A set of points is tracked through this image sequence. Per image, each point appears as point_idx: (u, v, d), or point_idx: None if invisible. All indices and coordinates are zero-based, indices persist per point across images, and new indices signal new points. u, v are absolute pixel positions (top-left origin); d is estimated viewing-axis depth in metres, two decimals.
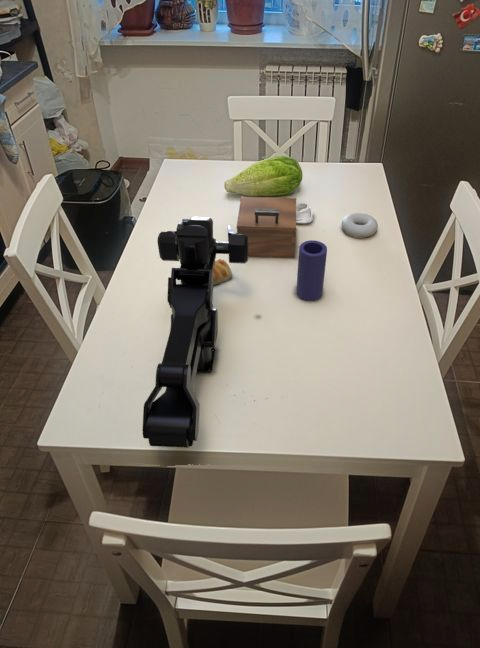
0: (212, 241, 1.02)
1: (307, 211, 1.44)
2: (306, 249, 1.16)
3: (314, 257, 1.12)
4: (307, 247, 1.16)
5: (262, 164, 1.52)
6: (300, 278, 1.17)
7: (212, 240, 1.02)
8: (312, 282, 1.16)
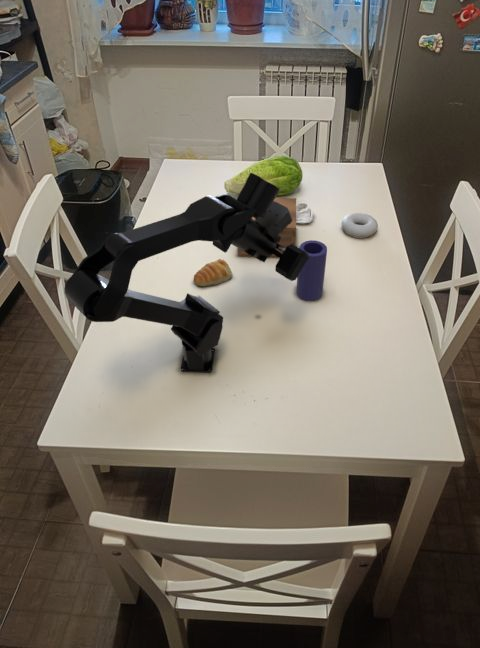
0: (277, 229, 0.98)
1: (307, 211, 1.44)
2: (306, 249, 1.16)
3: (314, 257, 1.12)
4: (307, 247, 1.16)
5: (262, 164, 1.52)
6: (300, 278, 1.17)
7: (277, 228, 0.98)
8: (312, 282, 1.16)
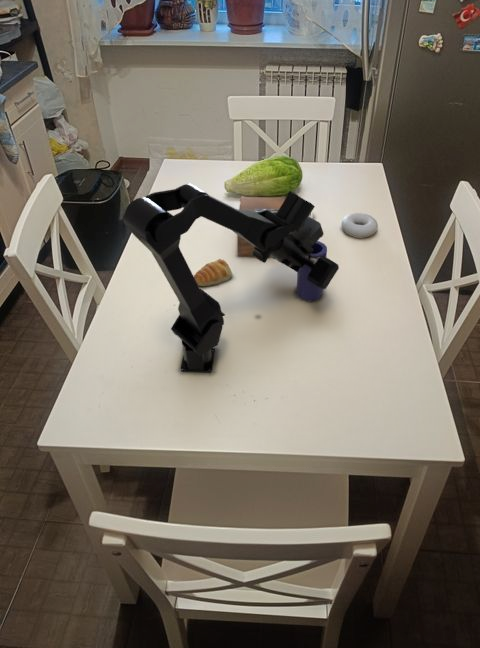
0: (310, 242, 1.07)
1: None
2: None
3: (314, 257, 1.12)
4: None
5: (262, 164, 1.52)
6: (300, 278, 1.17)
7: (310, 241, 1.07)
8: None
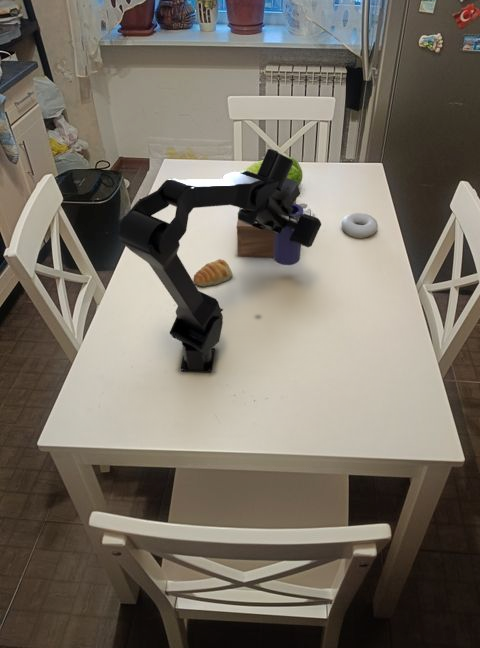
0: (290, 201, 1.06)
1: (307, 211, 1.44)
2: None
3: None
4: None
5: None
6: (279, 242, 1.16)
7: (290, 200, 1.06)
8: (292, 244, 1.16)
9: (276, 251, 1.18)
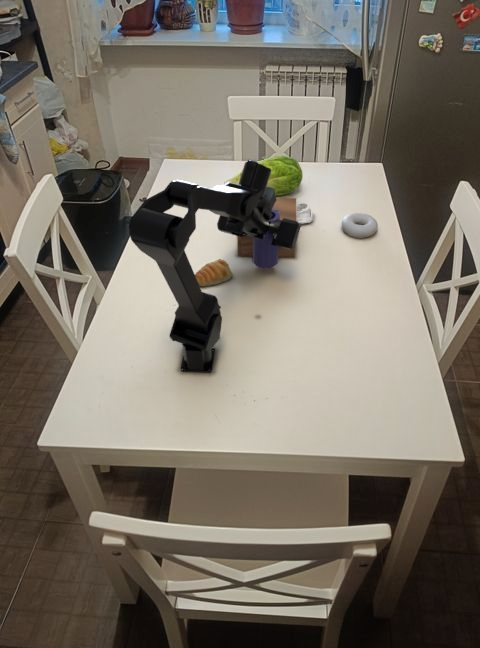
0: (269, 207, 1.11)
1: (307, 211, 1.44)
2: None
3: None
4: None
5: (262, 164, 1.52)
6: (259, 247, 1.21)
7: (269, 207, 1.11)
8: (271, 248, 1.20)
9: (256, 256, 1.23)
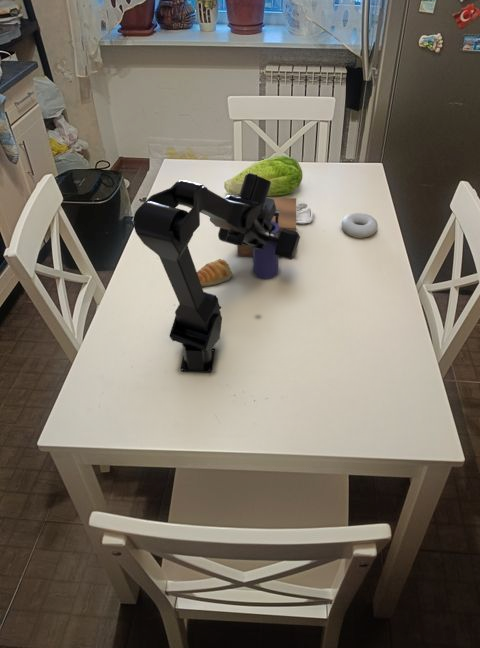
0: (269, 218, 1.13)
1: (307, 211, 1.44)
2: None
3: None
4: None
5: (262, 164, 1.52)
6: (259, 258, 1.23)
7: (269, 217, 1.13)
8: (271, 259, 1.23)
9: (256, 267, 1.25)
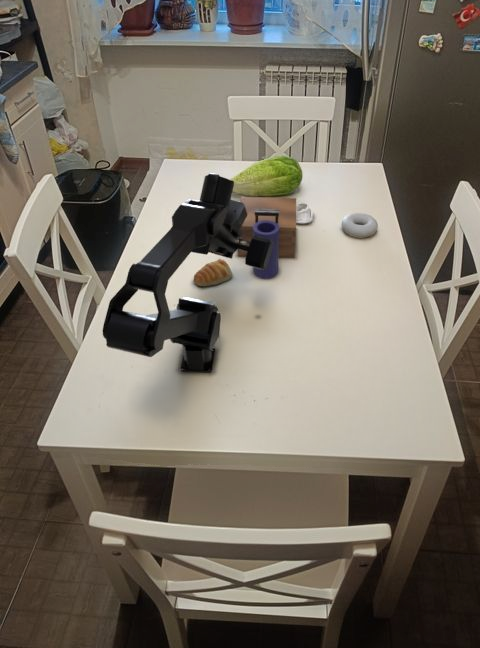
0: (238, 224, 1.02)
1: (307, 211, 1.44)
2: None
3: (271, 235, 1.18)
4: (259, 228, 1.22)
5: (262, 164, 1.52)
6: None
7: (239, 223, 1.02)
8: (271, 259, 1.23)
9: None
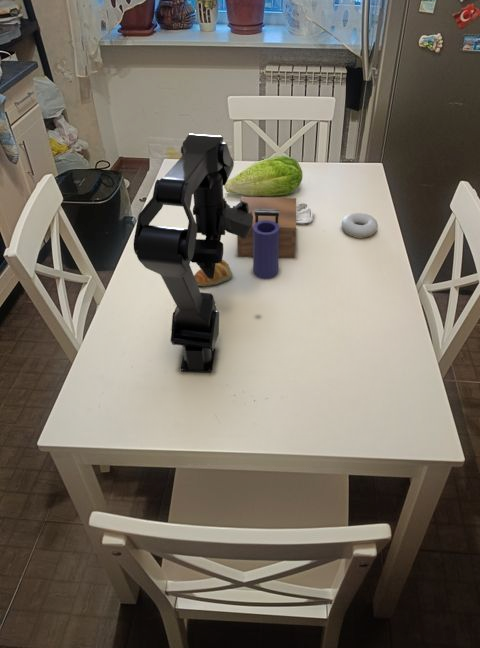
0: (228, 224, 0.99)
1: (307, 211, 1.44)
2: None
3: (271, 235, 1.18)
4: (259, 228, 1.22)
5: (262, 164, 1.52)
6: (259, 258, 1.23)
7: (229, 225, 0.99)
8: (271, 259, 1.23)
9: (256, 267, 1.25)
